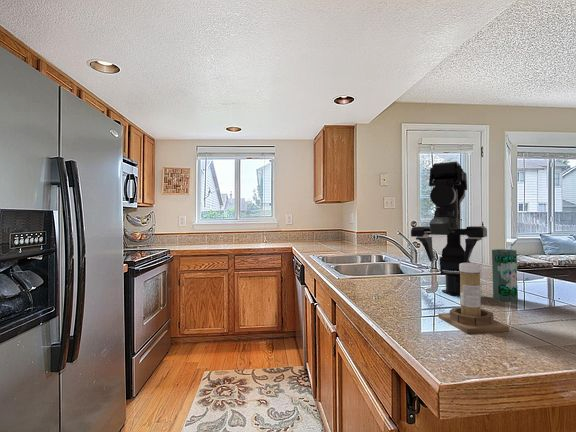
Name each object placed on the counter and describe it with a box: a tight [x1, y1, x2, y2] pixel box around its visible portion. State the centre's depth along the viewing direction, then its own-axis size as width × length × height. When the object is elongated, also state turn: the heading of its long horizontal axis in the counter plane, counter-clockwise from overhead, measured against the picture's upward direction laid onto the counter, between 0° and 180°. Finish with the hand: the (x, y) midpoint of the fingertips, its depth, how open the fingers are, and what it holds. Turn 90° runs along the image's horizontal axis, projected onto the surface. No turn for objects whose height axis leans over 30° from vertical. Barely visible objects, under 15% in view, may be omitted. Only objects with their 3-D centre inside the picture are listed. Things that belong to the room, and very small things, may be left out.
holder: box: [437, 306, 510, 334], centre depth 81 cm, size 12×10×3 cm
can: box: [491, 248, 519, 303], centre depth 103 cm, size 6×6×15 cm
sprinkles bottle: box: [458, 262, 482, 317], centre depth 82 cm, size 5×5×13 cm
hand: (448, 262), depth 95 cm, fingers open, 9 cm apart
